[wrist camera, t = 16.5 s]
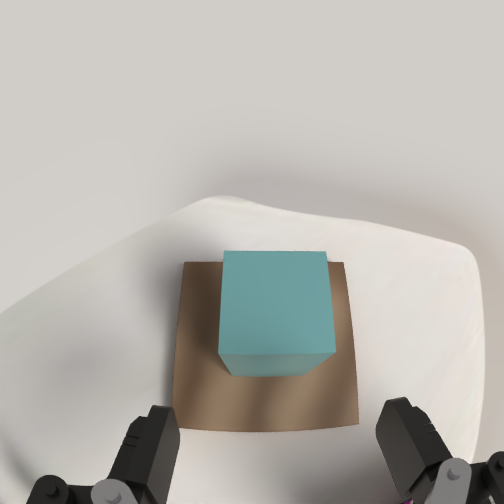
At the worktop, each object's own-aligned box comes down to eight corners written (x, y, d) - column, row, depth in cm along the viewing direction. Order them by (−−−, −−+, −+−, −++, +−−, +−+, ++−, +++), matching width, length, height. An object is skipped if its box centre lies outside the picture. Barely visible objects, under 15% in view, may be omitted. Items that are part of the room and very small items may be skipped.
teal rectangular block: (232, 376, 23) (218, 353, 14) (234, 310, 26) (224, 250, 17) (302, 375, 23) (336, 352, 14) (300, 311, 26) (325, 251, 17)
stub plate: (175, 426, 22) (160, 428, 18) (187, 268, 30) (178, 245, 26) (353, 423, 22) (371, 425, 18) (339, 268, 30) (351, 246, 26)
